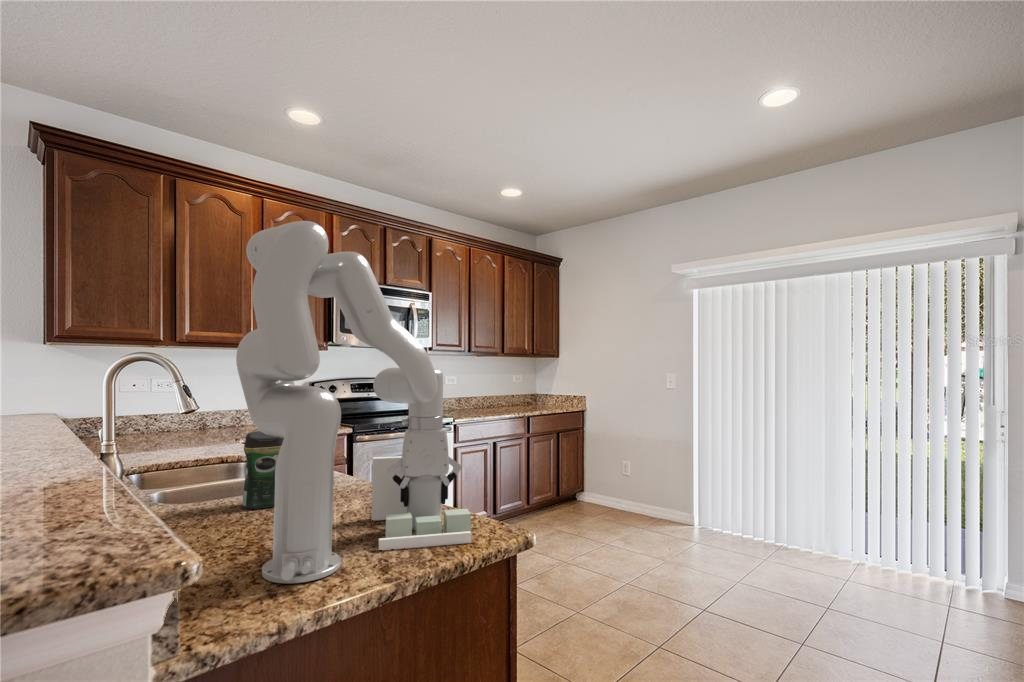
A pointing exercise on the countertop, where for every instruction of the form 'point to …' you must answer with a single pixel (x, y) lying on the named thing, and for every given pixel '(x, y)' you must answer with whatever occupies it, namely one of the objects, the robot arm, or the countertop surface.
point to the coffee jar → (260, 469)
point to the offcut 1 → (398, 525)
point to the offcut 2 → (457, 520)
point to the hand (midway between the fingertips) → (424, 503)
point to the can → (424, 497)
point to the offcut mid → (428, 525)
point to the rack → (402, 510)
